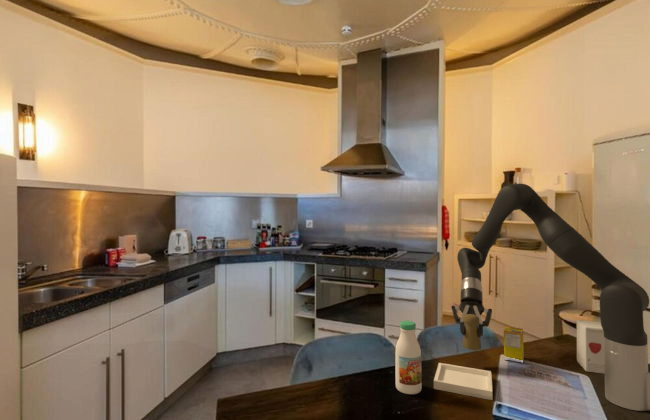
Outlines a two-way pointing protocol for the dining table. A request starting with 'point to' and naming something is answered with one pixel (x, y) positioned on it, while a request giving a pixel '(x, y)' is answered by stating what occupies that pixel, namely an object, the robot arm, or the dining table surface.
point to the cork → (471, 332)
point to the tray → (464, 381)
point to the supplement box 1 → (513, 343)
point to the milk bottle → (408, 360)
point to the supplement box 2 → (590, 346)
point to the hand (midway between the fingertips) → (471, 334)
